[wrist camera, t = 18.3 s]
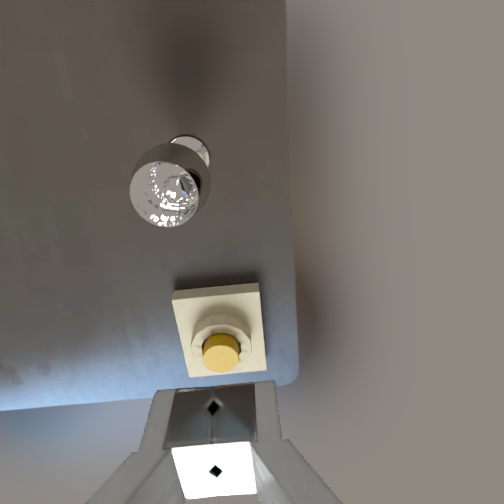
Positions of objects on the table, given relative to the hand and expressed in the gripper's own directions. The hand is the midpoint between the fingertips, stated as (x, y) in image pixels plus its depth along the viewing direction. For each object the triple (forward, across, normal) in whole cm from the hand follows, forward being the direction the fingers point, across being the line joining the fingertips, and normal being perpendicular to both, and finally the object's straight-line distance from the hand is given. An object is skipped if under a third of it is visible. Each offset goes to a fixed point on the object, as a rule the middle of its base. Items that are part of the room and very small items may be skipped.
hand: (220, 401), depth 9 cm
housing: (+29, +4, +20) cm, 35 cm away
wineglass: (+29, +5, -1) cm, 29 cm away
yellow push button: (+25, +4, +20) cm, 32 cm away
